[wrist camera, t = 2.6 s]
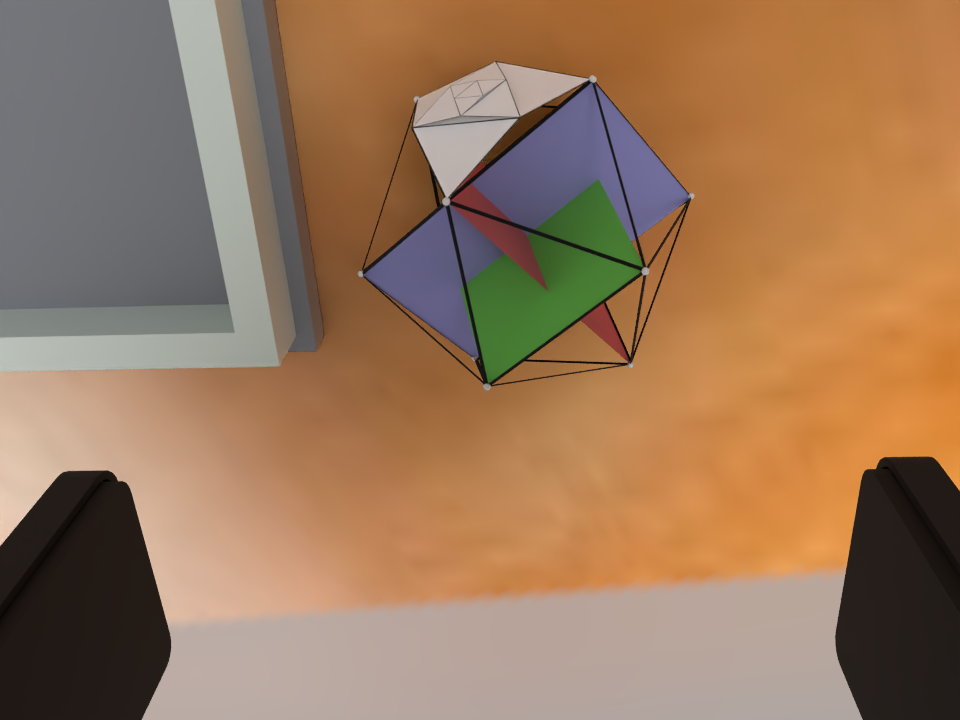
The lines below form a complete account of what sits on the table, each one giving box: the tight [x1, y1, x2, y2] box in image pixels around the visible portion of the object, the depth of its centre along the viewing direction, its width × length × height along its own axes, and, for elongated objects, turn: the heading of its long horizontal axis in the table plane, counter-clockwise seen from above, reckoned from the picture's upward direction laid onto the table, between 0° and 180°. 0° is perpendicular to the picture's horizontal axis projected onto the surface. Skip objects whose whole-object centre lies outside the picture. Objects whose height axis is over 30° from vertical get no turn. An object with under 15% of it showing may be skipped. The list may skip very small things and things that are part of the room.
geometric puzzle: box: [358, 61, 694, 391], centre depth 21 cm, size 7×7×8 cm
